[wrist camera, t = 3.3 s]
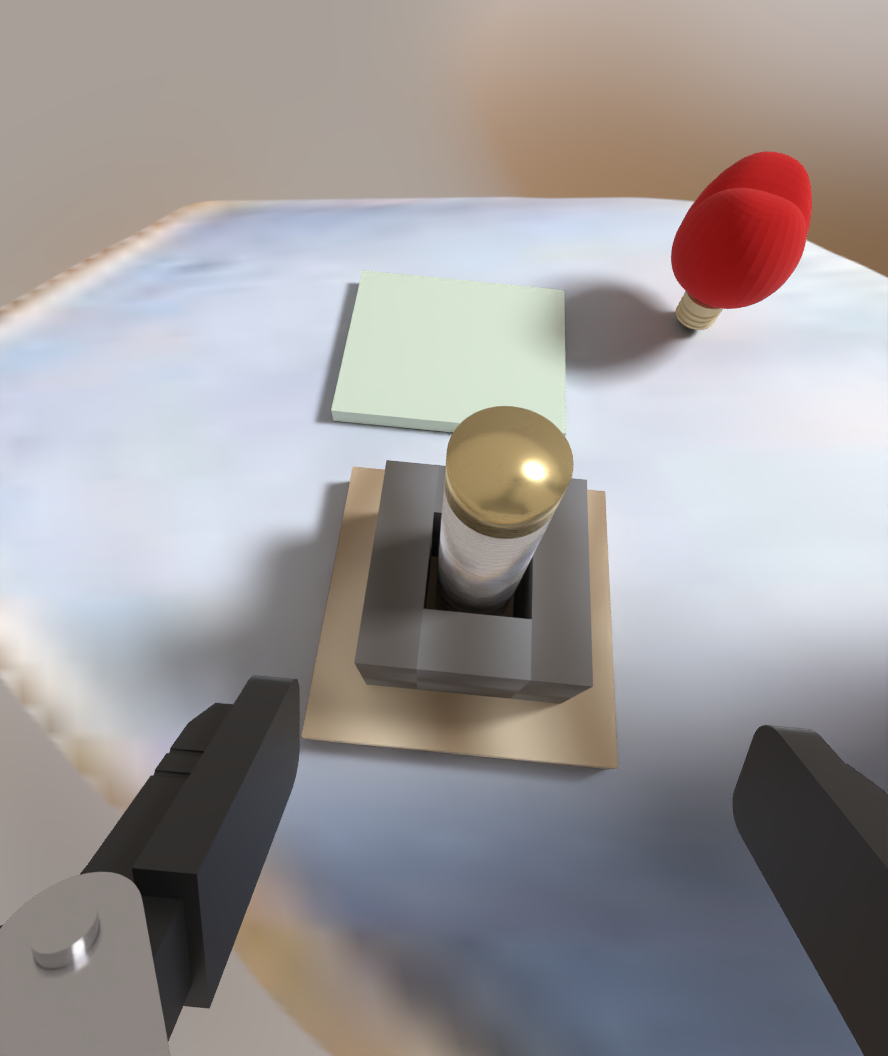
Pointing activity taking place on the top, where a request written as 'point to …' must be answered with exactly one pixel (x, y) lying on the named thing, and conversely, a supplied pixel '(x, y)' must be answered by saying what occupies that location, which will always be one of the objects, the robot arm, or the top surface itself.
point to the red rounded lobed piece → (741, 237)
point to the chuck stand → (464, 635)
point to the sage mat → (450, 352)
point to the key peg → (497, 505)
